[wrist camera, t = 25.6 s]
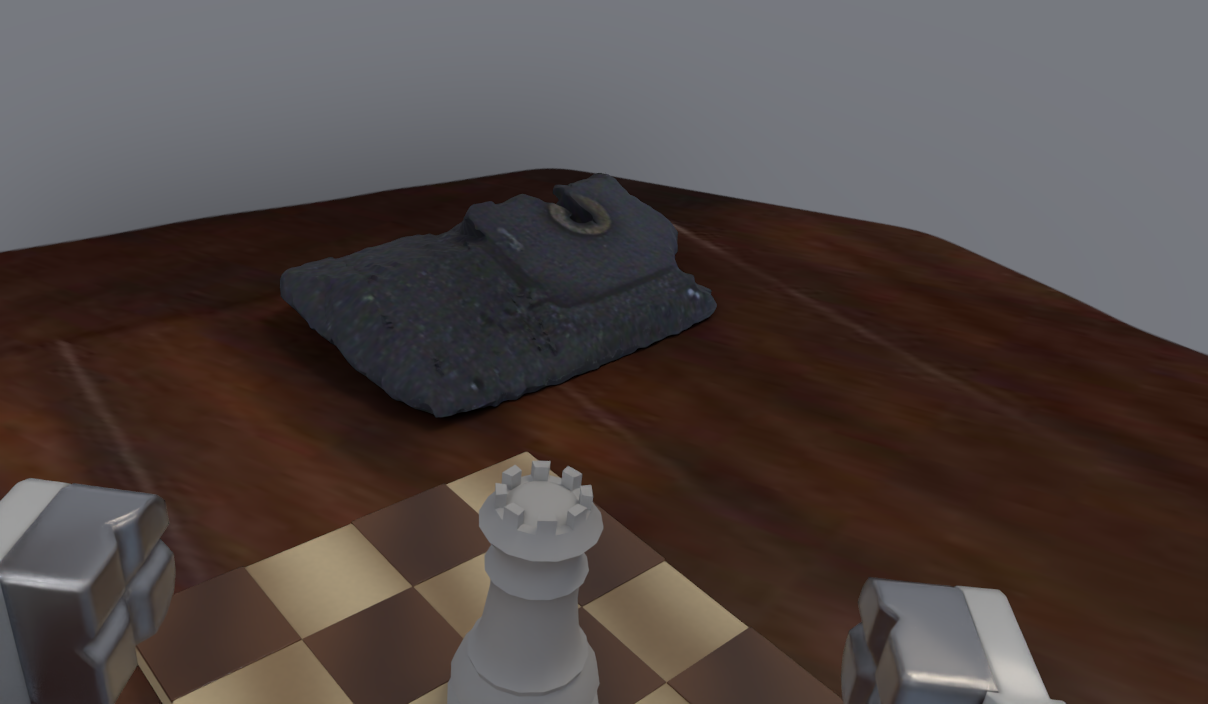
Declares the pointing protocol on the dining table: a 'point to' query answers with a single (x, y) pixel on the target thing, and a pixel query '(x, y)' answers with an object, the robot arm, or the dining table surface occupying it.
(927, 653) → the robot arm
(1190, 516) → the dining table surface
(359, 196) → the dining table surface
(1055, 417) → the dining table surface
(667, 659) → the chessboard
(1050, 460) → the dining table surface
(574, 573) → the rook chess piece
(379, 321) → the dark slate chunk
